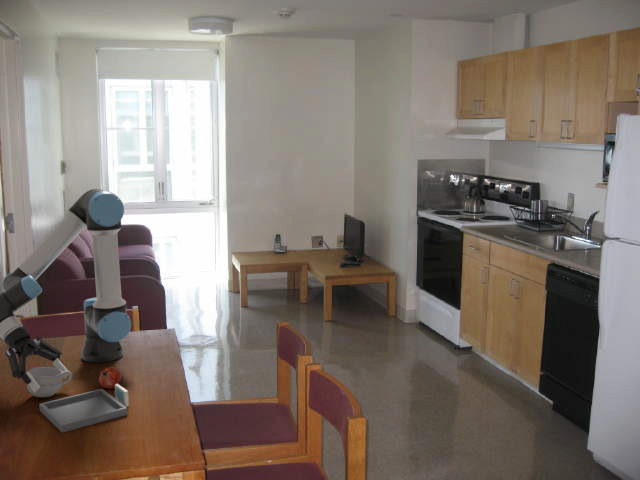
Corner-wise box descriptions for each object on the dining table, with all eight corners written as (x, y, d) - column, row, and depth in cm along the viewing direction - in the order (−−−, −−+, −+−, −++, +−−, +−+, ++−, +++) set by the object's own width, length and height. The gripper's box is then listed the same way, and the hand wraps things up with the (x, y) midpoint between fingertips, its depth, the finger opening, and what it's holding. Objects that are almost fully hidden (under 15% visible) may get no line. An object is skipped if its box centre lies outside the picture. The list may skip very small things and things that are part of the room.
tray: (102, 394, 228) (101, 388, 227) (127, 414, 212) (127, 407, 212) (39, 410, 215) (39, 403, 215) (62, 432, 200) (61, 425, 199)
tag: (118, 398, 225) (117, 383, 224) (128, 406, 219) (128, 391, 218) (114, 399, 224) (113, 384, 223) (124, 407, 218) (124, 392, 217)
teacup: (24, 400, 220) (27, 376, 219) (25, 387, 230) (27, 364, 228) (70, 400, 225) (73, 377, 224) (69, 387, 235) (72, 365, 234)
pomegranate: (106, 388, 239) (88, 379, 231) (117, 369, 241) (99, 359, 233) (121, 395, 235) (102, 386, 227) (132, 376, 237) (113, 366, 229)
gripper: (35, 329, 241) (72, 376, 239) (-23, 351, 218) (18, 403, 216) (46, 316, 239) (84, 363, 236) (-11, 337, 216) (30, 389, 213)
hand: (52, 382), depth 226 cm, fingers open, 13 cm apart
